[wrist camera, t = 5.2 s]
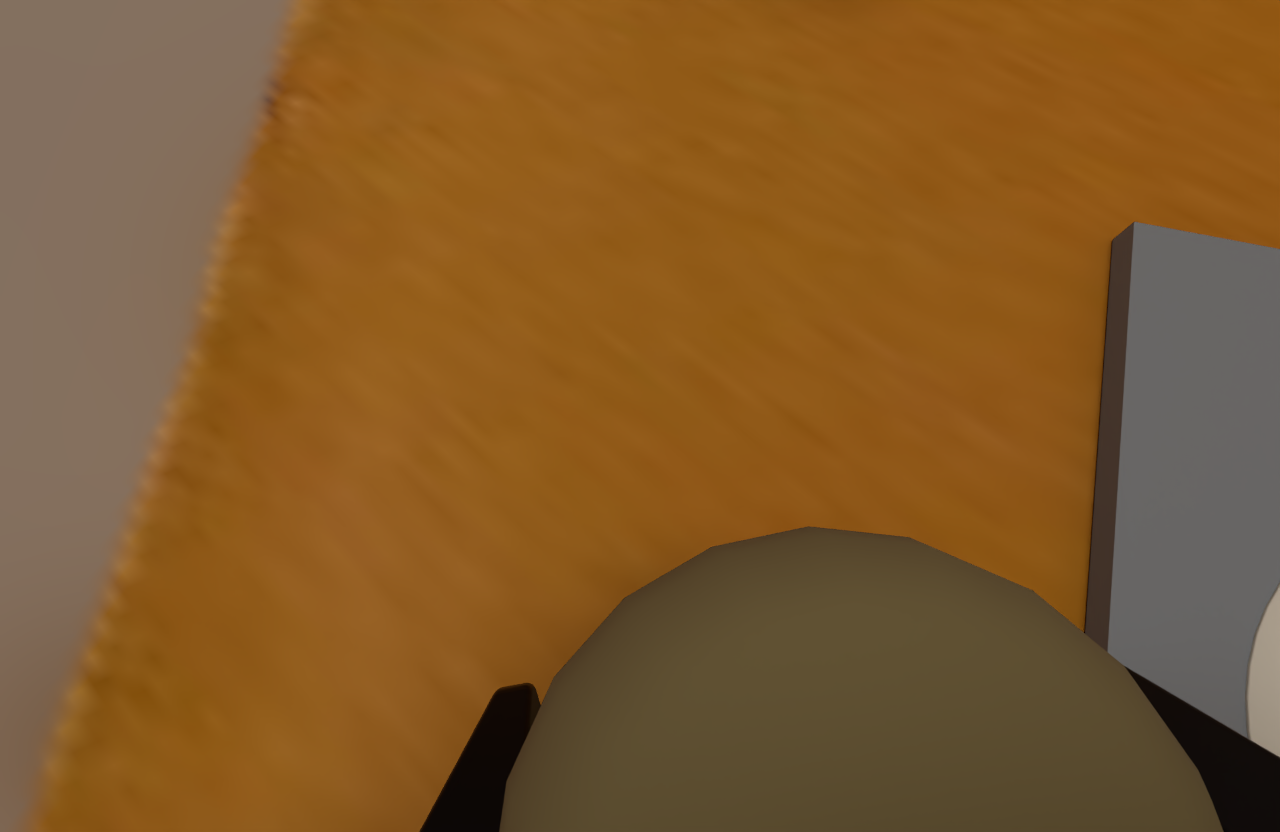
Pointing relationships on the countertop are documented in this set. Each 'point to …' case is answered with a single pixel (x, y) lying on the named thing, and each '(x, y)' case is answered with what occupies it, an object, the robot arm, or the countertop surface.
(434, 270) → the countertop surface
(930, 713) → the olive rounded peg
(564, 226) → the countertop surface
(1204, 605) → the board
